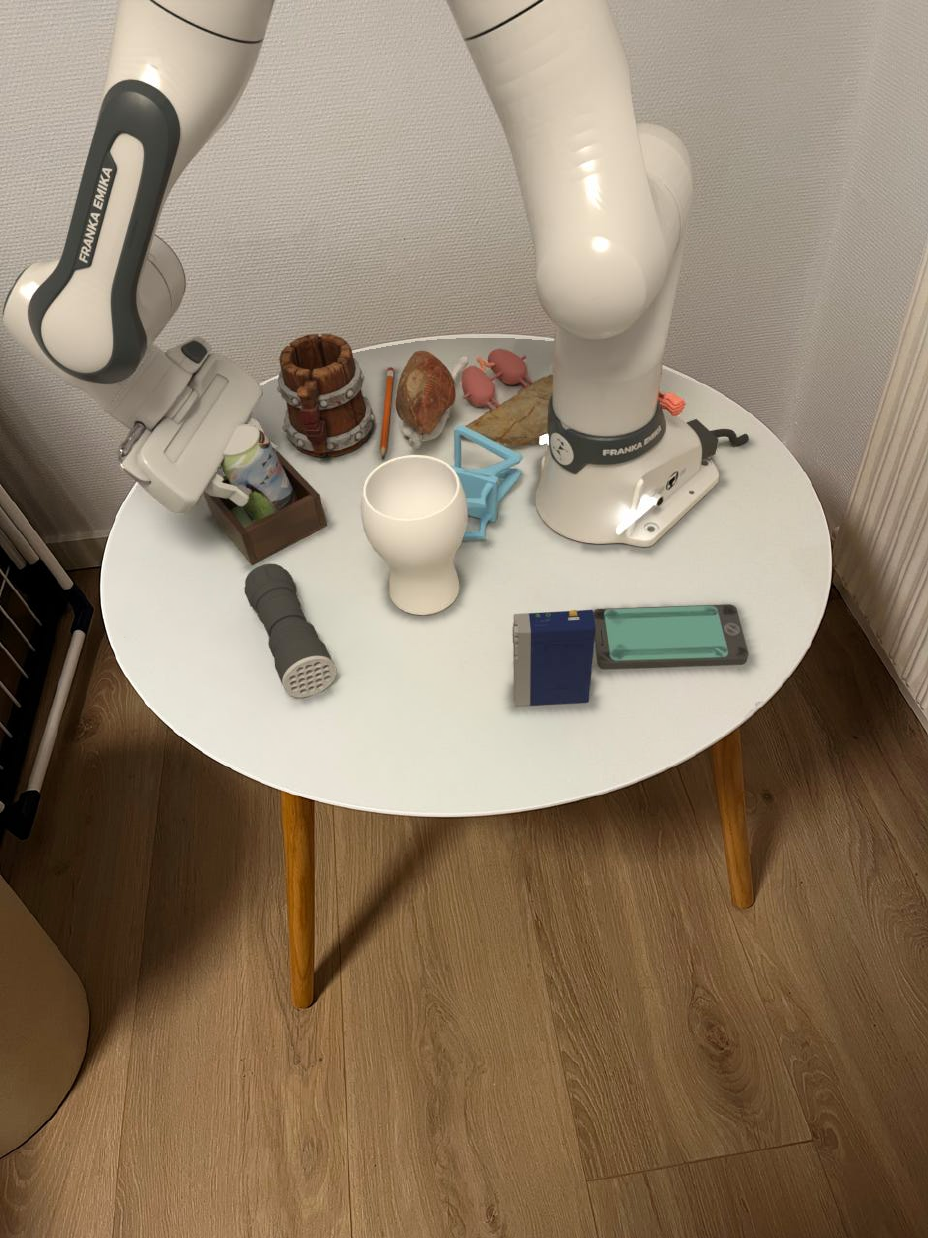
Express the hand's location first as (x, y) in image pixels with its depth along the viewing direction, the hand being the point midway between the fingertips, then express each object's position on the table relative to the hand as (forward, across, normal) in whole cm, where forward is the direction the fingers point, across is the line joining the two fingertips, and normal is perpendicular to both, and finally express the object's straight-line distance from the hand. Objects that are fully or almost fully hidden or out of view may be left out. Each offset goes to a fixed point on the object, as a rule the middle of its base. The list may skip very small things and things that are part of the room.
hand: (260, 477), depth 102 cm
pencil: (+10, +22, 0) cm, 24 cm away
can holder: (+5, 0, +6) cm, 7 cm away
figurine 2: (+22, +28, -11) cm, 37 cm away
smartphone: (+38, -8, -28) cm, 48 cm away
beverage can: (+4, 0, +5) cm, 7 cm away
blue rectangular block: (+31, -18, -21) cm, 41 cm away
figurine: (+15, +22, -5) cm, 27 cm away
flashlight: (+11, -17, -1) cm, 20 cm away
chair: (+19, +12, -14) cm, 27 cm away
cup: (+20, -7, -9) cm, 23 cm away
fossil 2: (+6, +22, -9) cm, 24 cm away
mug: (+6, +16, +4) cm, 17 cm away
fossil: (+24, +22, -21) cm, 39 cm away
